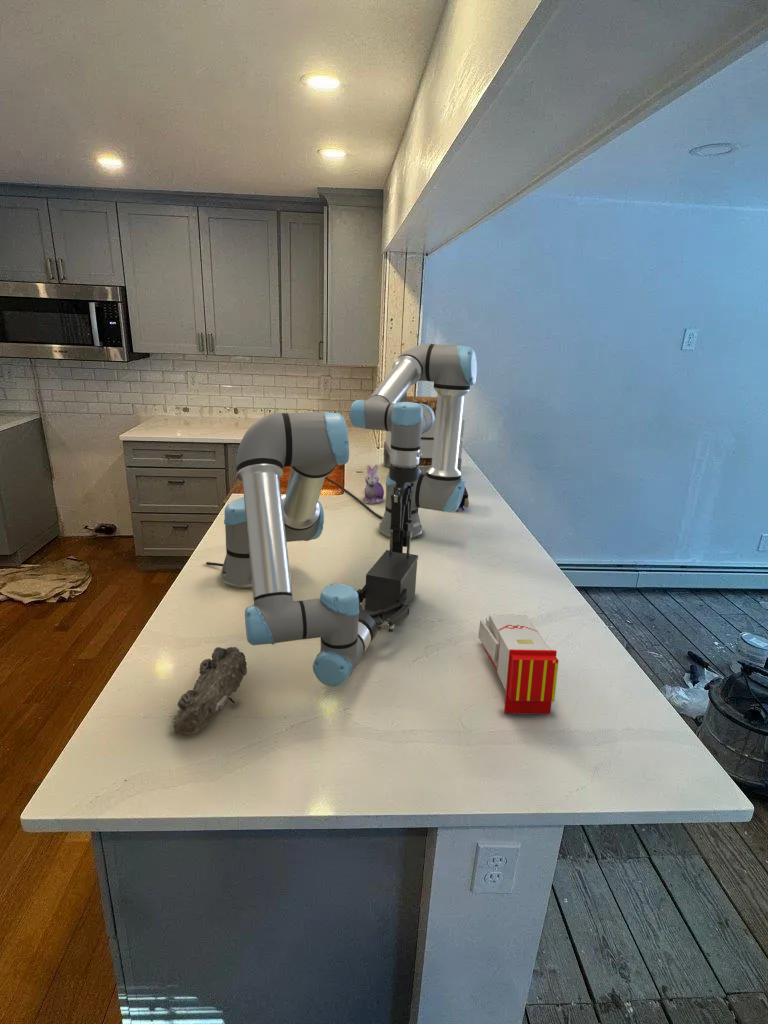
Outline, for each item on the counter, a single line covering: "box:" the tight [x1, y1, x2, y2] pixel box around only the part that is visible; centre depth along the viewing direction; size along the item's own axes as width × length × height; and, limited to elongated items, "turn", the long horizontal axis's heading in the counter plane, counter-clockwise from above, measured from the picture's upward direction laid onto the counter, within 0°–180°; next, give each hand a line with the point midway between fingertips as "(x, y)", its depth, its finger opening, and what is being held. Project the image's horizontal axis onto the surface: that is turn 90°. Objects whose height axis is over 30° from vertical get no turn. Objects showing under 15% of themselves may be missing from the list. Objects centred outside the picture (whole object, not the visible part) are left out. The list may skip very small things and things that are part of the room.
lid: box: [365, 529, 419, 585], centre depth 147 cm, size 17×9×9 cm, turn 162°
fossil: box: [172, 646, 248, 736], centre depth 111 cm, size 22×10×15 cm
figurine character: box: [455, 486, 470, 512], centre depth 229 cm, size 7×8×15 cm
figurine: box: [363, 464, 385, 505], centre depth 230 cm, size 9×10×15 cm
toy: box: [477, 613, 560, 715], centre depth 124 cm, size 12×13×30 cm
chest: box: [364, 560, 418, 622], centre depth 150 cm, size 16×9×11 cm, turn 162°
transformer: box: [383, 392, 465, 473], centre depth 268 cm, size 34×33×41 cm
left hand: (386, 590), depth 145 cm, fingers closed on chest, 9 cm apart
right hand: (399, 548), depth 152 cm, fingers open, 4 cm apart
